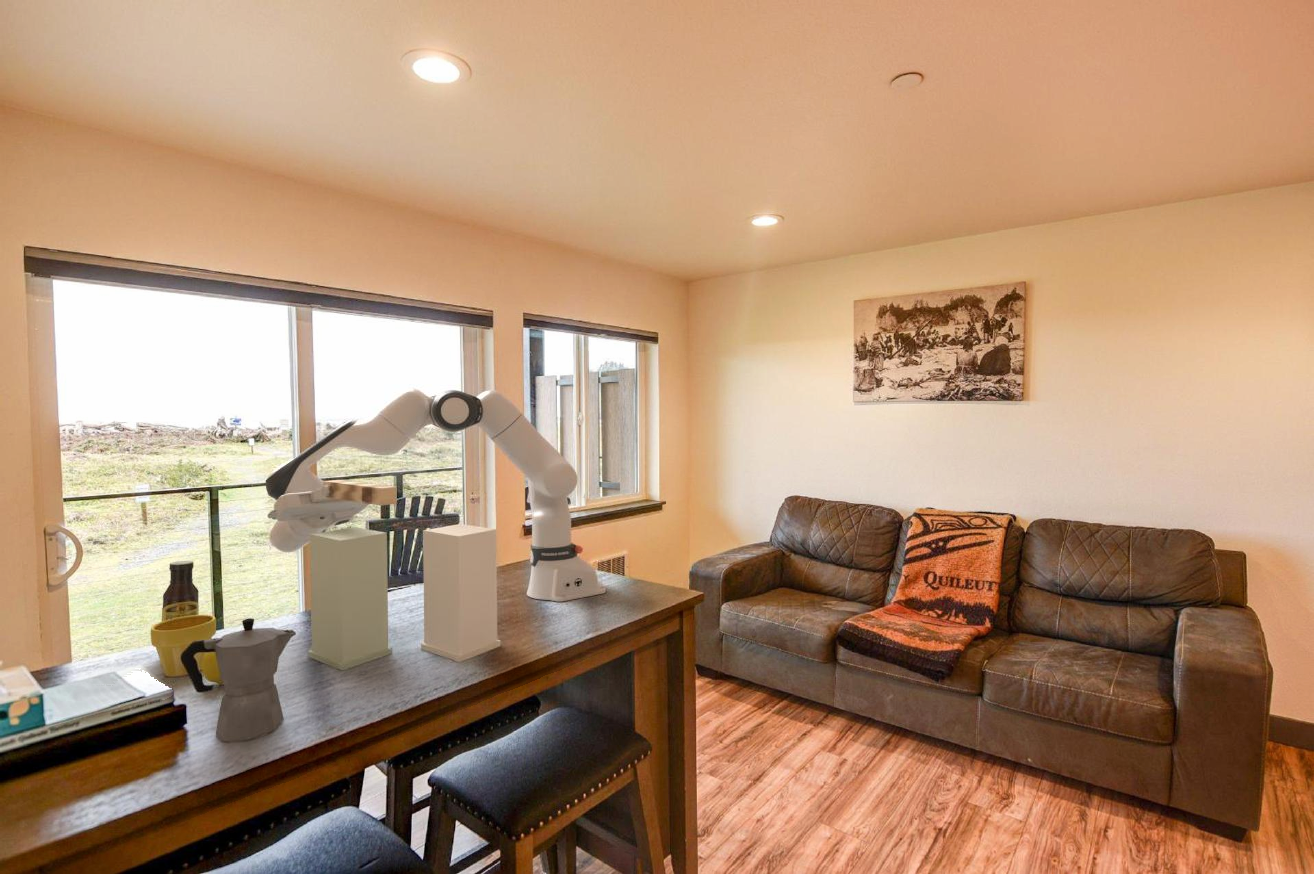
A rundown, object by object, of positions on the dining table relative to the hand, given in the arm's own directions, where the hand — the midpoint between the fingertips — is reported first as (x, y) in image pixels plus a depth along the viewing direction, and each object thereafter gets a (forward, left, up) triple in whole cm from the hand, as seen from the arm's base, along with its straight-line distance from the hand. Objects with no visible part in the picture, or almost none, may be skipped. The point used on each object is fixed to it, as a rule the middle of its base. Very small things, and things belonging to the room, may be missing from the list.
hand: (340, 487), depth 138 cm
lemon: (+20, +14, -35) cm, 43 cm away
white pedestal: (-24, +13, -35) cm, 44 cm away
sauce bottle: (+31, -7, -35) cm, 48 cm away
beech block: (-4, +6, -2) cm, 8 cm away
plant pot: (+28, +3, -35) cm, 45 cm away
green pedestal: (-2, +8, -35) cm, 36 cm away
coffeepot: (+13, +36, -35) cm, 52 cm away
